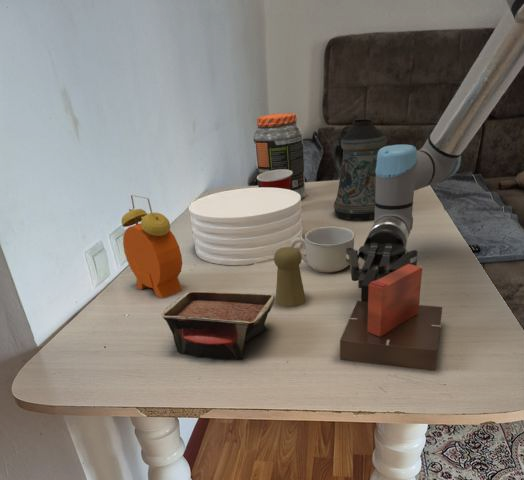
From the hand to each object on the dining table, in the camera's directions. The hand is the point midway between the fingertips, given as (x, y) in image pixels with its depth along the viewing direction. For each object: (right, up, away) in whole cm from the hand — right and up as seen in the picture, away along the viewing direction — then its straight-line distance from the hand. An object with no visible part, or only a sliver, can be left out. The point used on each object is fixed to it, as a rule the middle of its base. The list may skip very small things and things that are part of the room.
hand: (366, 293), depth 75 cm
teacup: (-2, +9, +34) cm, 35 cm away
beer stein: (+12, +31, +67) cm, 75 cm away
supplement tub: (-9, +43, +90) cm, 100 cm away
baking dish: (-23, -8, +9) cm, 26 cm away
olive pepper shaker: (-11, 0, +20) cm, 23 cm away
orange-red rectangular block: (+5, -4, +2) cm, 7 cm away
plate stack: (-20, +19, +52) cm, 58 cm away
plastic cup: (-11, +34, +75) cm, 83 cm away
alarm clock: (-39, +5, +32) cm, 51 cm away
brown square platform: (+5, -8, +4) cm, 10 cm away
